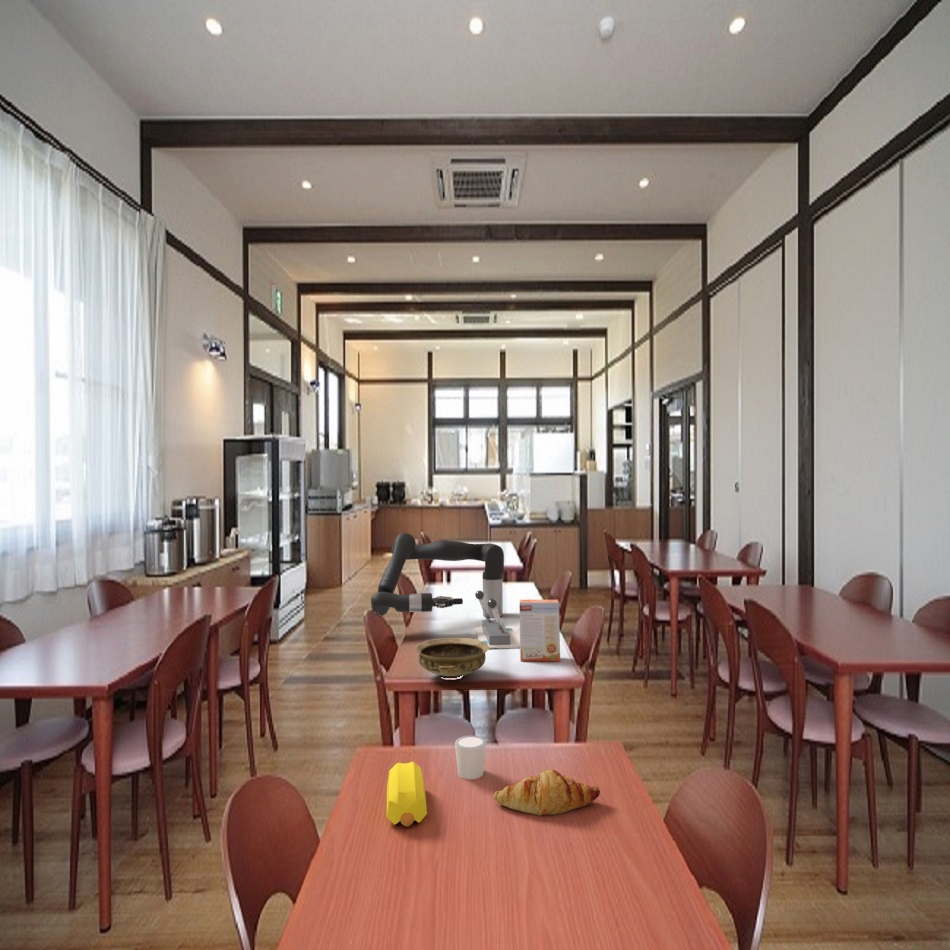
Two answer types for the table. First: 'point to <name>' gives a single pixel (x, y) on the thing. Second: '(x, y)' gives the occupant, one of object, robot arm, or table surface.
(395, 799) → the yellow faceted prism
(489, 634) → the switch unit
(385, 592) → the robot arm
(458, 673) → the ceramic bowl
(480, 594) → the lever inner
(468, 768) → the shot glass
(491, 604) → the lever outer
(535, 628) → the cracker box
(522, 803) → the croissant
